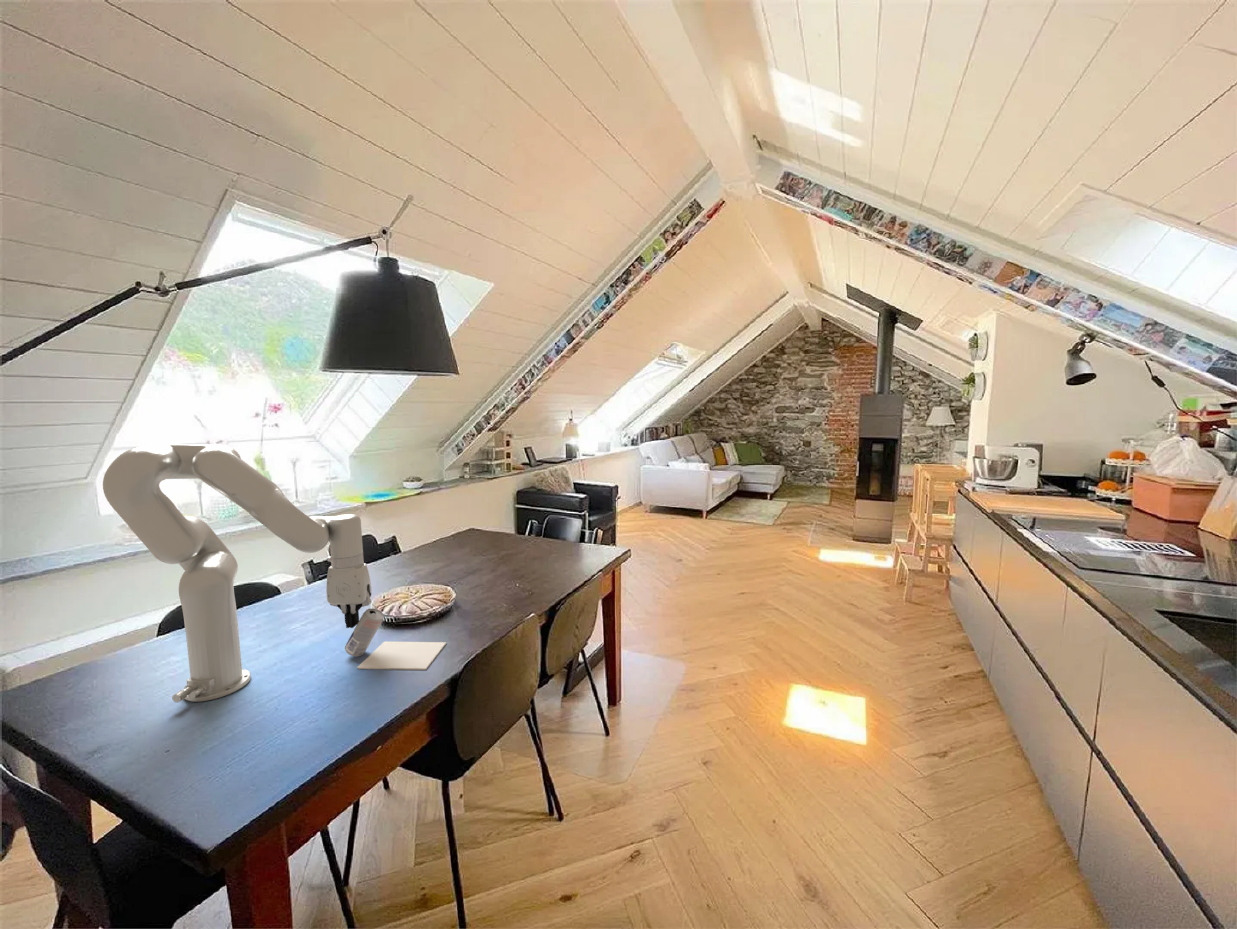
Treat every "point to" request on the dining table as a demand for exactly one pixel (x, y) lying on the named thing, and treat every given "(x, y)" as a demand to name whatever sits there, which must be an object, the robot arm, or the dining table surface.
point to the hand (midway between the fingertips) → (352, 625)
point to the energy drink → (364, 632)
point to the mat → (403, 655)
